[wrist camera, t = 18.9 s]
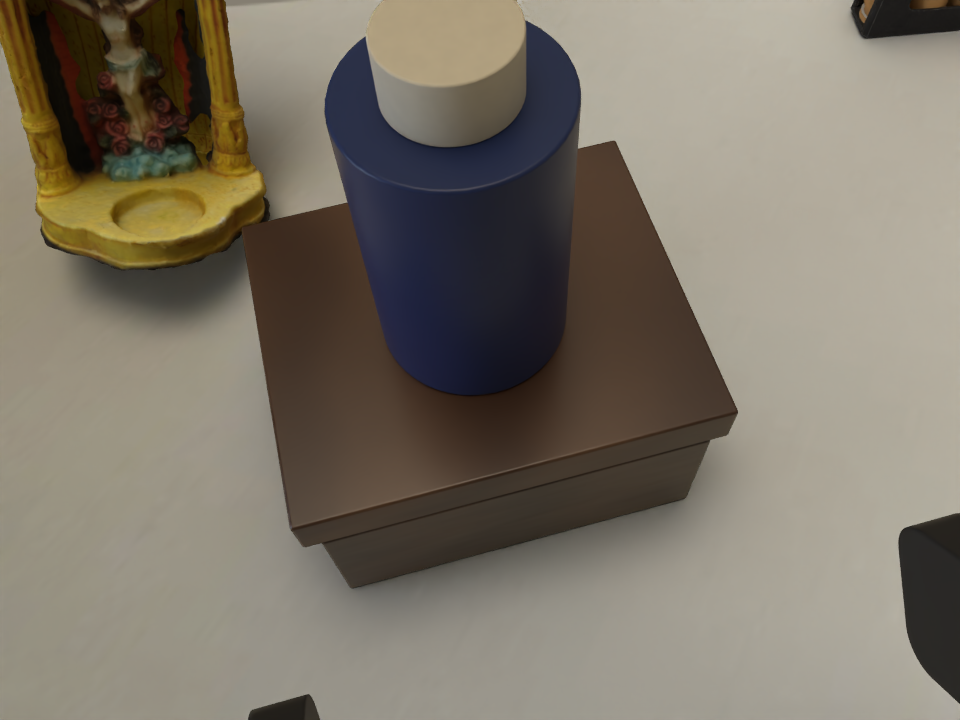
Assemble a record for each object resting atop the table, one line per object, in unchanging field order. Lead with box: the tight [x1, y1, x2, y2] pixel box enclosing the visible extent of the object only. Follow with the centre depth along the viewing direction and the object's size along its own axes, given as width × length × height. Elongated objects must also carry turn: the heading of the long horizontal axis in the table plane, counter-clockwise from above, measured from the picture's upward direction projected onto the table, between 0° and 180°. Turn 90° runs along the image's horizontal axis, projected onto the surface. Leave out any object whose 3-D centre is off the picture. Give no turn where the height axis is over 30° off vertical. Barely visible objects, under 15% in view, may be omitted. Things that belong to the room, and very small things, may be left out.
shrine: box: [0, 0, 270, 270], centre depth 29 cm, size 12×8×15 cm
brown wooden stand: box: [242, 141, 738, 588], centre depth 28 cm, size 12×10×6 cm
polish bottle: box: [325, 0, 581, 395], centre depth 21 cm, size 5×5×10 cm
